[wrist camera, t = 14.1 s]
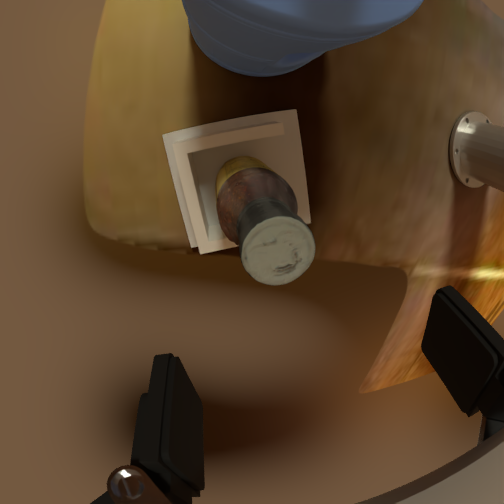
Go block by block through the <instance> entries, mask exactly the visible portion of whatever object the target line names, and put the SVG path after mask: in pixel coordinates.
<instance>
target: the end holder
mask: <svg viewBox="0 0 504 504" xmlns="http://www.w3.org/2000/svg"><path fill="white" fill-rule="evenodd" d="M162 136H163V140H164V144H165V149H166V153H167V157H168V161H169V165H170V170H171V174H172V178H173V182H174V185H175V189H176V193H177V197H178V201H179V205H180V208H181V212H182V216H183V220H184V223H185V227H186V230H187V234H188V238H189V241H190V245H191V248H193V247H198V248H199V251H200V254H204V253H209V252H213V251H218V250H223V249H227V248H232V247H237V246H238V245H236V244H235V243H234V242H232V241H230V240H229V239H228V238H227V237H226V235H225V234H224V232H223V231H222V229H221V226H220V224H219V219H218V215H217V209H216V193H215V183H216V177H217V174H218V172H219V170H220V169H221V167H222V166H223V165H224V164H225V162H227V161H228V160H231V159H233V158H235V157H238V156H250V157H254V158H257V159H259V160H260V161H262V162H263V163H264V164H266V165H267V166H268V167H269V168H271V169H272V170H273V171H274V172H276V173H277V174H278V175H280V176H281V177H282V178H283V179H284V180H286V182H287V183H288V184H289V185H290V187H291V188H292V190H293V191H294V193H295V196H296V199H297V204H298V213H297V215H298V216H299V217H300V218H301V219H302V220H303V221H304V222H305V223H306V224H308V223H311V219H310V209H309V200H308V191H307V182H306V174H305V166H304V159H303V151H302V144H301V137H300V130H299V123H298V117H297V110H296V109H292V110H284V111H276V112H269V113H263V114H256V115H250V116H245V117H239V118H233V119H228V120H223V121H218V122H213V123H209V124H204V125H200V126H195V127H191V128H187V129H183V130H179V131H175V132H171V133H167V134H164V135H162Z"/></svg>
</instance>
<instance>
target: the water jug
mask: <svg viewBox="0 0 504 504" xmlns="http://www.w3.org/2000/svg"><path fill="white" fill-rule="evenodd" d="M182 2H183V6H184V9H185V12H186V14H187V17H188V22H189V27H190V30H191V33H192V36H193V38H194V40H195V42H196V44H197V45H198V47H199V48H200V49H201V50H202V52H203V53H204V54H205V55H206V56H207V57H209V58H210V59H211V60H212V61H214V62H215V63H217V64H218V65H220V66H222V67H224V68H226V69H228V70H230V71H233V72H236V73H239V74H243V75H248V76H257V77H268V76H276V75H281V74H285V73H288V72H291V71H294V70H296V69H298V68H300V67H302V66H304V65H306V64H307V63H309V62H310V61H311V60H313V59H315V58H317V57H319V56H320V55H322V54H323V53H325V52H326V51H329V50H333V49H336V48H339V47H342V46H345V45H348V44H353V43H356V42H360V41H363V40H365V39H368V38H371V37H373V36H376V35H378V34H380V33H382V32H384V31H386V30H388V29H390V28H392V27H393V26H396V25H398V24H400V23H401V22H403V21H405V20H406V19H408V18H409V17H410V16H411V15H412V14H413V13H414V12H415V11H416V10H417V9H418V8H419V7H420V5H421V4H422V2H423V0H182Z"/></svg>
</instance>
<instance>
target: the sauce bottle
mask: <svg viewBox="0 0 504 504" xmlns="http://www.w3.org/2000/svg"><path fill="white" fill-rule="evenodd" d="M215 193H216V209H217V215H218V219H219V224H220V226H221V229H222V231H223V232H224V234H225V235H226V237H227V238H228V239H229V240H230V241H232V242H234V243H235V244H236V245H238V246H239V252H240V258H241V262H242V264H243V267H244V269H245V270H246V272H247V273H248V274H249V275H250V276H251V277H253V278H254V279H255V280H256V281H258V282H261V283H263V284H268V285H282V284H287V283H289V282H291V281H293V280H295V279H297V278H298V277H299V276H301V275H302V274H303V273H304V272H305V271H306V270H307V269H308V268H309V266H310V264H311V262H312V261H313V258H314V255H315V242H314V237H313V234H312V232H311V230H310V229H309V227H308V226H307V224H306V223H305V222H304V221H303V220H302V219H301V218H300V217H299V216H298V215H297V213H298V204H297V199H296V196H295V193H294V191H293V190H292V188H291V187H290V185H289V184H288V183H287V182H286V180H284V179H283V178H282V177H281V176H280V175H278V174H277V173H276V172H274V171H273V170H272V169H271V168H269V167H268V166H267V165H266V164H264V163H263V162H262V161H260V160H259V159H257V158H254V157H250V156H238V157H235V158H233V159H231V160H228V161H227V162H225V164H224V165H223V166H222V167H221V169H220V170H219V172H218V174H217V177H216V183H215Z"/></svg>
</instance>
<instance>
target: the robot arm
mask: <svg viewBox="0 0 504 504" xmlns="http://www.w3.org/2000/svg"><path fill="white" fill-rule="evenodd" d="M450 161H451V165H452V169H453V171H454V174H455V175H456V177H457V179H458V180H459V181H460V182H461V183H462V184H464V185H466V186H468V187H471V188H478V187H480V186H483V185H484V184H487V185H489V186H491V187H493V188H496V189H498V190H500V191H502V192H504V127H501V126H497V125H493V124H492V123H491V121H490V120H489V119H488V118H487V117H486V116H485V115H484V114H482V113H480V112H474V111H470V112H466V113H465V114H463V115H462V116H461V117H460V118H459V119H458V120H457V122H456V123H455V126H454V128H453V130H452V134H451V138H450ZM421 348H422V351H423V353H424V355H425V356H426V358H427V359H428V361H429V362H430V363H431V365H432V366H433V368H434V369H435V371H436V372H437V373H438V375H439V377H440V378H441V380H442V381H443V383H444V384H445V386H446V387H447V389H448V390H449V392H450V394H451V395H452V397H453V398H454V400H455V401H456V403H457V405H458V406H459V408H460V409H461V411H462V412H464V413H466V414H467V415H468V417H470V416H472V415H474V414H475V413H477V412H478V411H479V410H480V411H481V413H482V420H481V427H480V433H479V438H478V444H477V446H476V447H475V448H473V449H471V450H470V451H468V452H466V453H465V454H463V455H462V456H460V457H458V458H457V459H455V460H453V461H451V462H449V463H448V464H446V465H444V466H442V467H440V468H438V469H437V470H435V471H433V472H431V473H429V474H427V475H425V476H423V477H421V478H419V479H417V480H414V481H412V482H410V483H408V484H406V485H403V486H401V487H399V488H396V489H394V490H391V491H389V492H387V493H384V494H382V495H379V496H376V497H373V498H371V499H368V500H365V501H362V502H359V503H356V504H504V340H503V338H502V337H501V336H500V335H499V334H498V333H497V331H495V329H494V328H493V327H492V326H491V325H490V324H489V323H488V322H487V321H486V320H485V319H484V318H483V317H482V316H481V314H480V313H479V312H478V311H477V310H476V309H475V308H474V307H473V306H472V305H471V304H470V303H469V302H468V301H467V300H466V299H465V298H464V297H463V296H462V295H461V294H460V293H459V292H458V291H456V290H455V289H454V288H453V287H452V286H446V287H443V288H440V289H438V290H437V291H436V293H435V295H434V296H433V299H432V303H431V308H430V312H429V317H428V321H427V325H426V329H425V333H424V336H423V340H422V344H421ZM204 486H205V482H204V453H203V406H202V402H201V400H200V398H199V396H198V394H197V392H196V391H195V388H194V386H193V384H192V382H191V381H190V379H189V377H188V375H187V373H186V371H185V369H184V367H183V365H182V363H181V361H180V359H179V357H174V356H173V354H171V353H169V354H161V355H155V357H154V361H153V366H152V372H151V378H150V384H149V390H148V393H143V394H142V395H141V398H140V401H139V407H138V413H137V420H136V426H135V433H134V441H133V448H132V455H131V464H130V465H124V466H120V467H118V468H116V469H115V470H114V471H113V472H111V474H110V476H109V477H108V480H107V491H106V492H105V493H104V494H103V495H102V496H100V497H98V498H97V499H96V500H94V501H93V502H92V503H90V504H192V497H200V490H204Z"/></svg>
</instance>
